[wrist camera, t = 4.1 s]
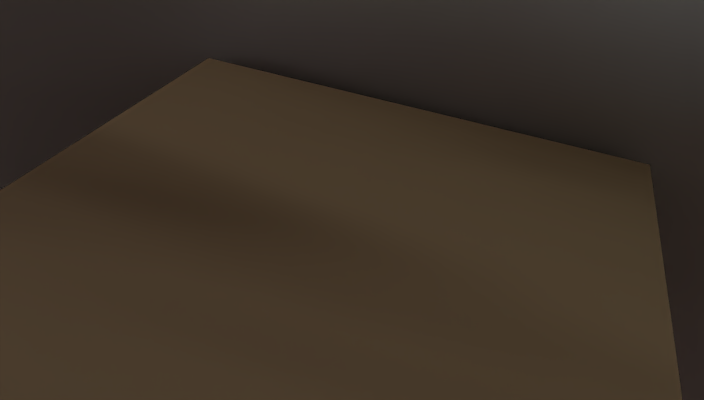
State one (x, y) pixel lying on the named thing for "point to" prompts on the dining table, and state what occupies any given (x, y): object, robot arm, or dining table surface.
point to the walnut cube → (328, 257)
